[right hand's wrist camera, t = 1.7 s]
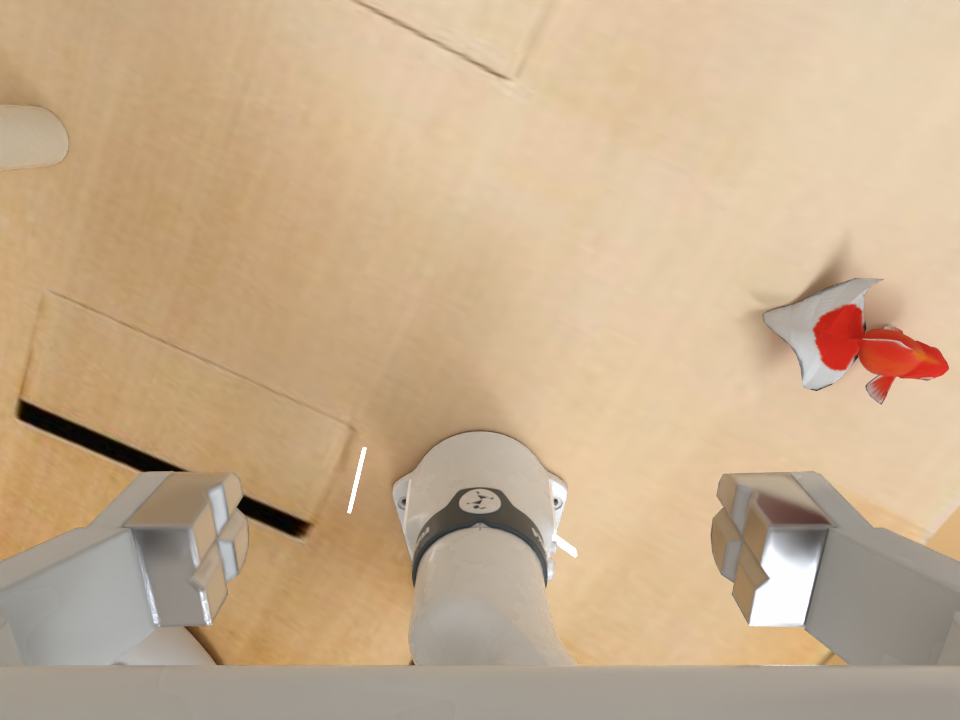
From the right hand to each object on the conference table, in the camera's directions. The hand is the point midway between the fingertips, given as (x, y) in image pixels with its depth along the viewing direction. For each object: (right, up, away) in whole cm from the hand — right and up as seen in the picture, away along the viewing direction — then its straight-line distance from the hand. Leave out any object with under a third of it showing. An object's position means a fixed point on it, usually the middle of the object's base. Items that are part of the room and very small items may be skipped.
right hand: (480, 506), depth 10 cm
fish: (+34, +5, +49) cm, 60 cm away
